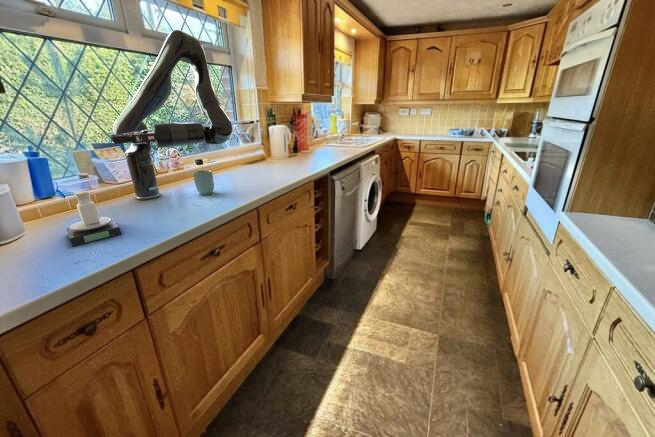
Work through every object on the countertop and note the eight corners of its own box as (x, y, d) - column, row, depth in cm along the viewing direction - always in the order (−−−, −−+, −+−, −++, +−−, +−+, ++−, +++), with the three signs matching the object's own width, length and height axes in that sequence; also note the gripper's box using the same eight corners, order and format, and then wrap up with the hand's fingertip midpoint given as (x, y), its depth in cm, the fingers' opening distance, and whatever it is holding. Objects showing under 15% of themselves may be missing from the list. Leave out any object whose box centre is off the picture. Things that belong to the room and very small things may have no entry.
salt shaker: (85, 226, 90) (74, 195, 86) (82, 223, 92) (72, 193, 89) (101, 222, 92) (91, 192, 89) (97, 219, 95) (88, 190, 92)
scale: (68, 235, 94) (64, 223, 93) (113, 224, 102) (110, 213, 100) (72, 247, 85) (67, 234, 84) (121, 234, 93) (118, 222, 92)
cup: (209, 196, 132) (205, 173, 128) (193, 195, 133) (189, 173, 130) (218, 191, 139) (215, 169, 135) (203, 191, 140) (199, 169, 137)
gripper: (164, 122, 103) (107, 125, 94) (173, 123, 92) (109, 126, 83) (168, 144, 106) (113, 149, 97) (178, 148, 95) (117, 154, 86)
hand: (112, 139), depth 90 cm, fingers open, 8 cm apart
